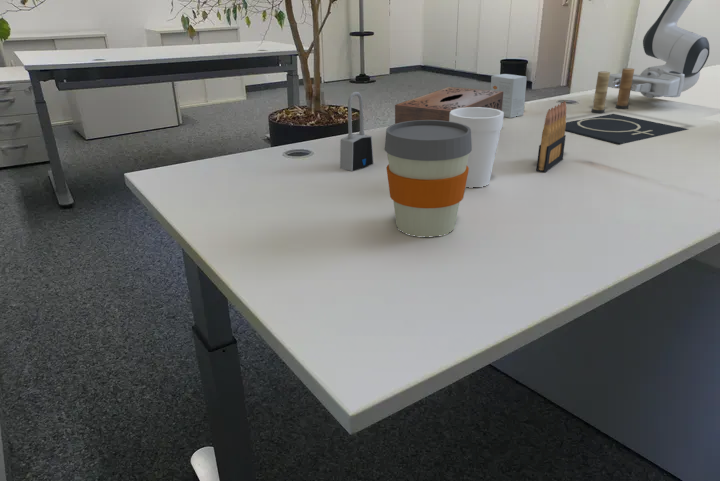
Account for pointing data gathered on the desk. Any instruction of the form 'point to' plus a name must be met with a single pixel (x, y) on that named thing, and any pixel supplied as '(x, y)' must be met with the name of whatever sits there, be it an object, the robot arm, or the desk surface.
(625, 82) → the beech stamp
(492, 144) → the foam cup
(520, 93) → the small box
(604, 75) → the birch stamp
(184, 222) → the desk surface
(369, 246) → the desk surface
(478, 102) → the tissue box cover
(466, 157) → the reusable coffee cup
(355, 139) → the padlock
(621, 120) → the desk pad
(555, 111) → the ammunition clip
